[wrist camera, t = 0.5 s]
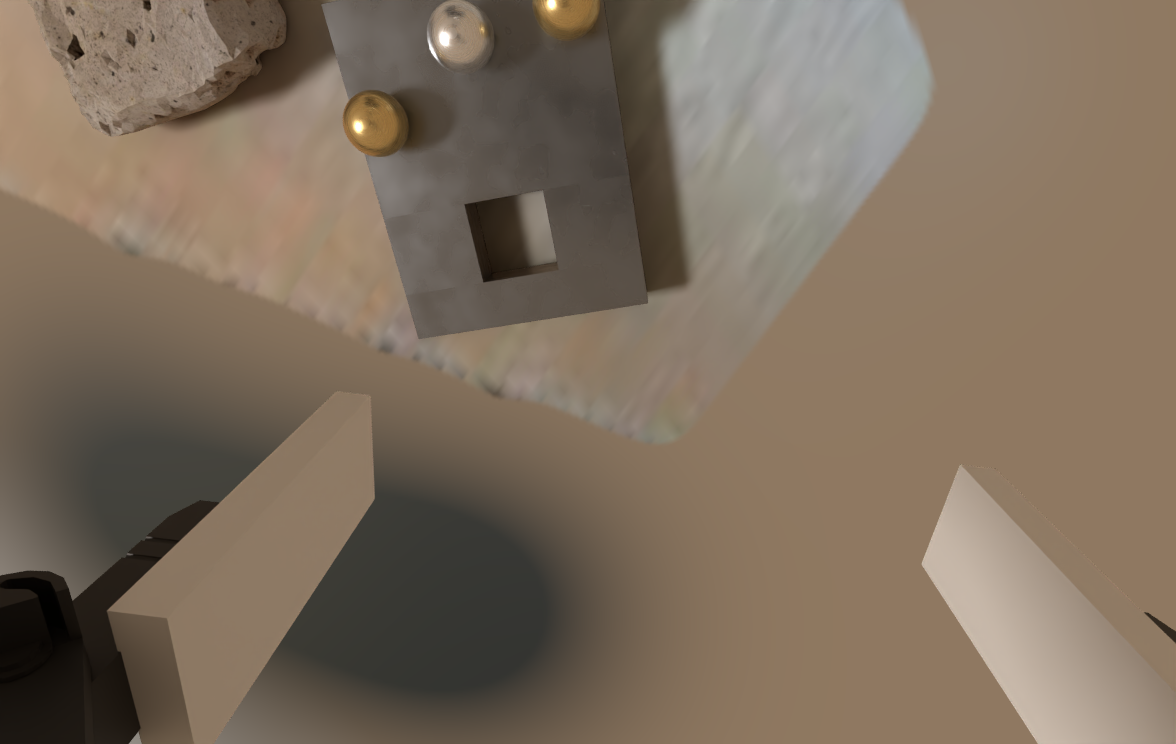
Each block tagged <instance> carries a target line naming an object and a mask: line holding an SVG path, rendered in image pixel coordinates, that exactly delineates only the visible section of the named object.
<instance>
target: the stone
mask: <svg viewBox="0 0 1176 744" xmlns="http://www.w3.org/2000/svg"><path fill="white" fill-rule="evenodd" d="M28 3H29V4H30V5H31V7H32V8H33V9H34V13H35V16H36V20H37V22H38V24H39V26H40V33H41V35H42V37H43V39H44V41H45V43H46V46H47V48H48V50H49V53H50V55H51V56H52V57H53V58H55V59H56V60H57V61H58V62H59V64H60V66H61V68H62V70H63V72H64V76H65V77H66V79H67V80H68V83H69V87H70V91H71V94H72V96H73V98H74V100H75V102H76V103H77V104H78V105H79V107H80V111H81V114H82V115H83V116H85V117H86V119H87V120H88V122H89V123H90V124H91V126H92V127H93V128H95V129H97V130H99V131H100V132H102V133H104V134H106V135H108V136H111V137H112V136H120V135H124V134H128V133H133V132H137V131H140V130H143V129H146V128H149V127H152V126H155V125H158V124H161V123H164V122H167V121H170V120H173V119H176V118H179V117H182V116H186V115H189V114H192V113H195V112H199V111H202V110H205V109H207V108H208V107H210V106H212V105H214V104H216V103H218V102H219V101H221V100H223V99H224V98H226V97H227V96H229V95H230V94H231V93H233V92H234V91H235V90H236V88H237V86H238V85H239V84H240V83H241V82H243V81H245V80H246V79H247V77H249V76H251V75H255V76H257V74H258V73H259V71H260V70H261V68H262V64H261V61H260V59H259V54H260V53H262V52H263V51H264V50H267V49H270V50H271V49H275V48H278V47H279V46H281V45H282V44H283V43H284V42H285V39H286V16H285V13H284V11H283V9H282V7H281V5H280V4H279V2H278V0H28Z"/></svg>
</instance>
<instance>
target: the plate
mask: <svg viewBox="0 0 1176 744" xmlns="http://www.w3.org/2000/svg"><path fill="white" fill-rule="evenodd" d="M445 1H448V0H338V1H333V2H329V3H325V4H321V5H322V9H323V12H324V16H325V19H326V23H327V26H328V29H329V33H330V36H331V40H332V43H333V47H334V50H335V53H336V57H337V60H338V64H339V67H340V71H341V74H342V77H343V81H344V84H345V88H346V91H347V95H348V98H349V100H350V99H351V98H352V97H353V96H354V95H356V94H357V93H359V92H362V91H365V90H379V91H382V92H385V93H387V94H389V95H391V96H392V97H394V98H395V99H396V100H397V101H398V102H399V103H400V104H401V106H402V107H403V109H404V110H405V112H406V115H407V118H408V123H409V132H408V137H407V140H406V142H405V144H404V145H403V146H402V148H401V149H400V150H399V151H397V152H396V153H394V154H392V155H390V156H386V157H373V156H369V155H367V154H365V156H366V160H367V163H368V167H369V170H370V173H371V177H372V180H373V184H374V187H375V191H376V194H377V198H378V201H379V204H380V208H381V211H382V215H383V218H384V222H385V225H386V228H387V232H388V235H389V239H390V242H391V246H392V249H393V252H394V256H395V259H396V263H397V266H398V270H399V273H400V276H401V280H402V283H403V287H404V290H405V294H406V297H407V300H408V304H409V307H410V311H411V314H412V318H413V321H414V324H415V328H416V331H417V335H418V338H419V339H422V338H428V337H435V336H441V335H448V334H454V333H461V332H467V331H473V330H480V329H486V328H493V327H499V326H505V325H512V324H518V323H525V322H531V321H538V320H544V319H550V318H557V317H563V316H570V315H576V314H582V313H589V312H595V311H602V310H608V309H615V308H621V307H627V306H634V305H640V304H647V303H648V297H647V289H646V282H645V275H644V269H643V262H642V255H641V248H640V242H639V235H638V228H637V221H636V215H635V208H634V201H633V194H632V188H631V181H630V174H629V167H628V161H627V154H626V147H625V140H624V134H623V127H622V120H621V113H620V106H619V100H618V93H617V86H616V79H615V73H614V66H613V59H612V52H611V46H610V39H609V32H608V25H607V19H606V12H605V5H604V0H600V10H599V15H598V18H597V20H596V22H595V24H594V26H593V27H592V28H591V30H590V31H589V32H588V33H586V34H585V35H584V36H582V37H581V38H578V39H576V40H571V41H563V40H558V39H555V38H553V37H551V36H550V35H548V34H547V33H546V32H545V31H544V30H543V29H542V28H541V27H540V25H539V24H538V22H537V20H536V17H535V15H534V11H533V6H532V0H467V1H470V2H472V3H474V4H475V5H477V6H478V7H480V8H481V9H482V10H483V11H484V13H485V14H486V15H487V17H488V18H489V20H490V22H491V25H492V27H493V31H494V49H493V52H492V55H491V57H490V59H489V61H488V62H487V63H486V64H485V66H483V67H482V68H481V69H480V70H478V71H476V72H474V73H470V74H458V73H454V72H451V71H449V70H447V69H446V68H444V67H443V66H442V65H441V64H440V63H439V62H438V61H437V60H436V59H435V57H434V56H433V54H432V52H431V50H430V48H429V45H428V40H427V26H428V22H429V19H430V17H431V15H432V13H433V11H434V10H435V9H436V8H437V7H438V6H439V5H440V4H442V3H443V2H445ZM539 190H543V192H544V197H545V202H546V208H547V213H548V218H549V223H550V228H551V233H552V238H553V243H554V248H555V253H556V258H557V262H555V263H549V264H543V265H537V266H531V267H525V268H520V269H514V270H508V271H502V272H496V273H492V270H491V266H490V262H489V258H488V253H487V249H486V245H485V241H484V237H483V232H482V228H481V224H480V220H479V216H478V211H477V207H476V203H475V202H479V201H485V200H490V199H496V198H501V197H507V196H512V195H518V194H523V193H528V192H534V191H539Z"/></svg>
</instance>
